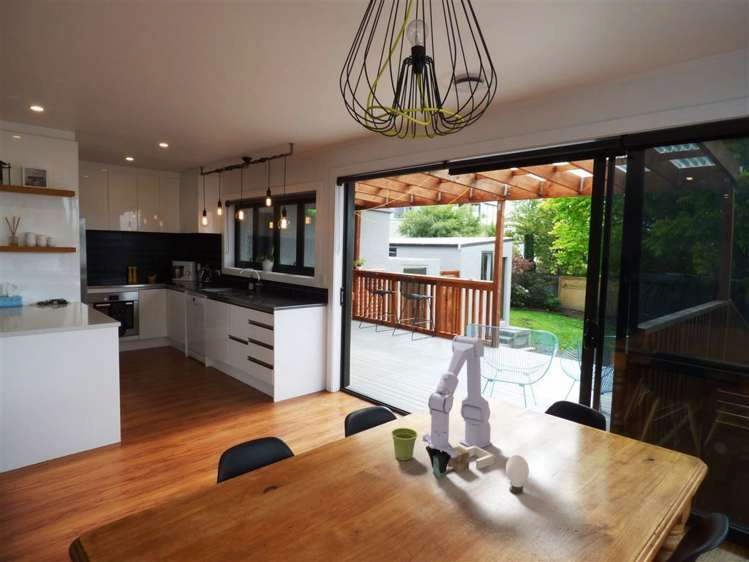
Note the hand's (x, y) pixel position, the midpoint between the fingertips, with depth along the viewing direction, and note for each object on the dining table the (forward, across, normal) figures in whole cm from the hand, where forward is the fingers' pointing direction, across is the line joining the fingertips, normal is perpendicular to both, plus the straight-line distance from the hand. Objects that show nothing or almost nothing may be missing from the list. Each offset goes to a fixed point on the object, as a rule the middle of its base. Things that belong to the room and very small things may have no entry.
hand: (438, 470), depth 144 cm
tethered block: (+2, 0, +5) cm, 5 cm away
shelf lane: (+2, 0, +17) cm, 17 cm away
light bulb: (+2, +20, +14) cm, 24 cm away
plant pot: (+2, -16, -2) cm, 16 cm away
